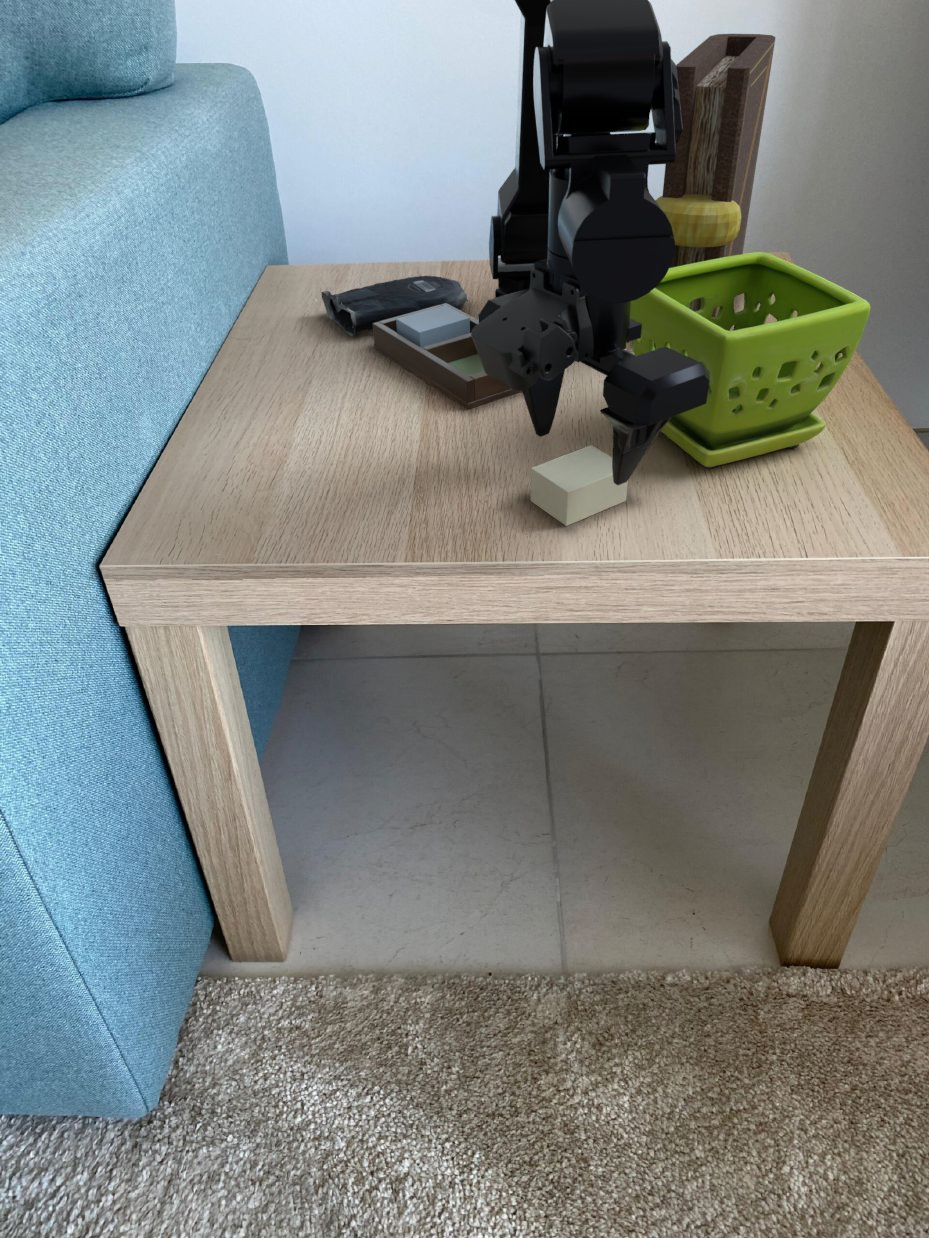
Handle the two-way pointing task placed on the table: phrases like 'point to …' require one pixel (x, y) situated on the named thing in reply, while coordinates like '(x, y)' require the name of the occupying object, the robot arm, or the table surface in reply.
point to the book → (716, 147)
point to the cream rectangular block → (576, 485)
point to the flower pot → (752, 350)
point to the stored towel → (433, 326)
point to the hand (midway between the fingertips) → (580, 457)
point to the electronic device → (390, 301)
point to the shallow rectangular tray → (442, 363)
